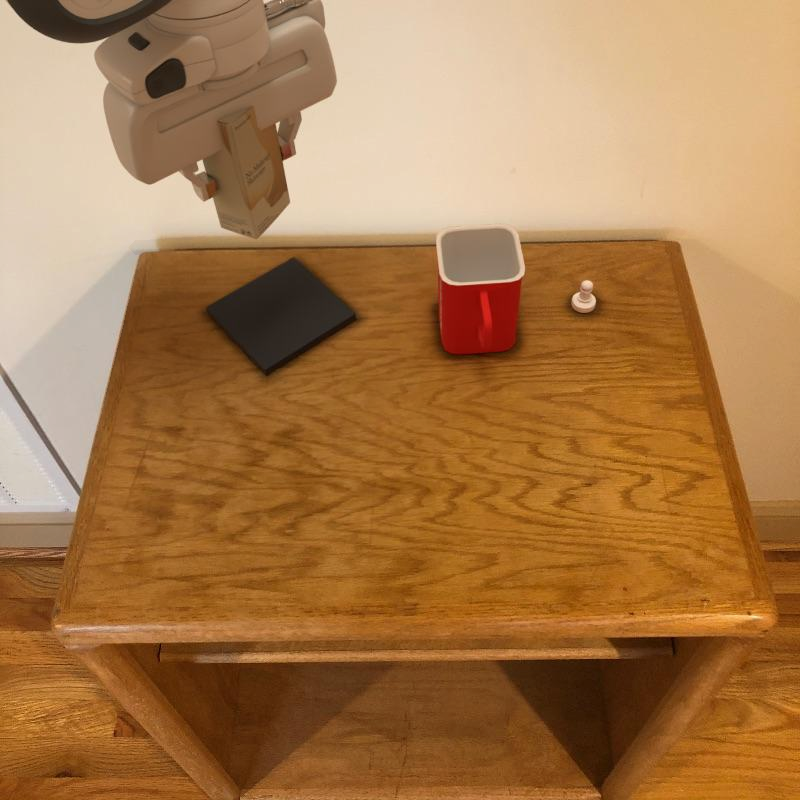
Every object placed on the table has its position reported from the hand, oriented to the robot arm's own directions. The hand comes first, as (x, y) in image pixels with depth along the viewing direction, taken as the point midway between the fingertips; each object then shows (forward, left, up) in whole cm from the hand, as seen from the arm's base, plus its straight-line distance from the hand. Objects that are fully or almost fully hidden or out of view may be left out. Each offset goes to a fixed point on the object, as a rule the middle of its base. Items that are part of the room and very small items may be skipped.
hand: (246, 175), depth 71 cm
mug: (+14, -17, -20) cm, 29 cm away
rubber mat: (0, 0, -19) cm, 19 cm away
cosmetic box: (0, 0, -5) cm, 5 cm away
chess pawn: (+26, -21, -20) cm, 39 cm away
